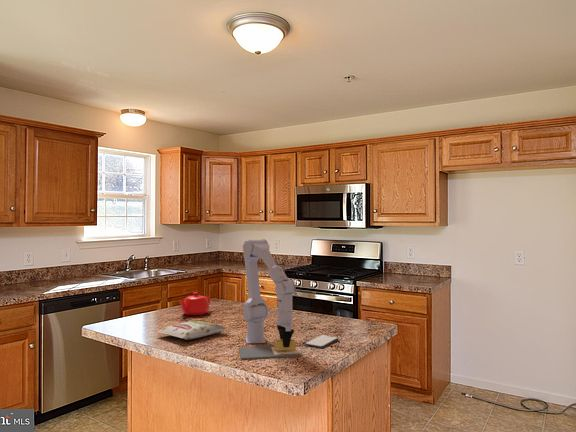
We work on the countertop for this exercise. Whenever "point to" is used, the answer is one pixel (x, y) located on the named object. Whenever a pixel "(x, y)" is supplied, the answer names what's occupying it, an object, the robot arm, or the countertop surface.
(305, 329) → the countertop surface
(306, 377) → the countertop surface
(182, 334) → the frozen beans
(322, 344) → the phone case
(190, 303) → the teapot
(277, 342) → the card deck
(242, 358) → the mat
